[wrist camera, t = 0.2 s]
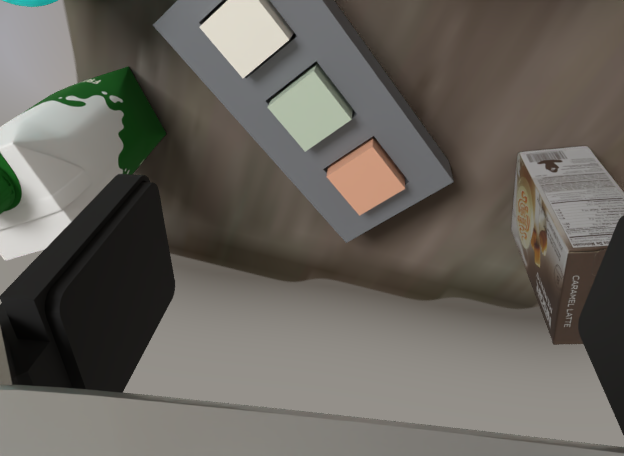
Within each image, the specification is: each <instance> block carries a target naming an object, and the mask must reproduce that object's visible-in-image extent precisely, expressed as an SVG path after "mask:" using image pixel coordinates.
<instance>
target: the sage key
mask: <svg viewBox="0 0 624 456" xmlns="http://www.w3.org/2000/svg"><path fill="white" fill-rule="evenodd" d="M268 109H269V110H270V111H271V112H272V113H273V115H274V116H275V117H276V118H277V119H278V120H279V122H280V123H281V124H282V125H283V126H284V128H285V129H286V130H287V131H288V132H289V133H290V135H291V136H292V137H293V138H294V139H295V140H296V142H297V143H298V144H299V145H300V146H301V148H302V149H303V150H304V151H305V152H306V151H307V150H308V149H310V148H311V147H313V146H314V145H316V144H317V143H319V142H320V141H321V140H323V139H324V138H326V137H327V136H329V135H330V134H331V133H333V132H334V131H336V130H337V129H339V128H340V127H342V126H343V125H344V124H346V123H347V122H349V121H350V120H352V113H353V108H352V107H351V106H350V104H349V103H348V102H347V100H346V99H345V98H344V96H343V95H342V94H341V93H340V91H339V90H338V89H337V87H336V86H335V85H334V83H333V82H332V81H331V80H330V78H329V77H328V76H327V74H326V73H325V72H324V70H323V69H322V68H321V67H320V65H319V64H318V63H317V61H316V62H315V63H314V64H312V65H311V66H310V67H309V68H307V69H306V70H305V71H304V72H302V73H301V74H300V75H298V76H297V77H296V78H295V79H293V80H292V81H291V82H290V83H288V84H287V85H286V86H284V87H283V88H282V89H281V90H279V91H278V92H277V93H276V94H274V95H273V97H272V99H271V101H270V103H269V105H268Z"/></svg>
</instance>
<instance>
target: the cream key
mask: <svg viewBox="0 0 624 456" xmlns="http://www.w3.org/2000/svg"><path fill="white" fill-rule="evenodd" d="M200 29H201V30H202V31H203V32H204V33H205V35H206V36H207V37H208V38H209V39H210V40H211V42H212V43H213V44H214V45H215V46H216V47H217V49H218V50H219V51H220V52H221V53H222V55H223V56H224V57H225V58H226V59H227V60H228V62H229V63H230V64H231V65H232V66H233V67H234V69H235V70H236V71H237V72H238V73H239V75H240V76H241V77H242V78H244V77H245V76H247V75H248V74H249V73H250V72H251V71H253V70H254V69H255V68H256V67H257V66H259V65H260V64H261V63H262V62H263V61H265V60H266V59H267V58H268V57H269V56H271V55H272V54H273V53H274V52H275V51H277V50H278V49H279V48H280V47H281V46H283V45H284V44H285V43H286V42H287V41H289V40H290V38H291V36H292V35H293V33H294V31H293V30H292V29H291V28H290V26H289V25H288V24H287V22H286V21H285V20H284V18H283V17H282V16H281V15H280V13H279V12H278V11H277V9H276V8H275V7H274V5H273V4H272V3H271V2H270V0H227V1H226V2H225V3H224V4H223V5H222V6H221V7H220V8H219V9H218V10H217V11H216V12H215V13H214V14H213V15H212V16H210V17H209V18H208V19H207V20H206V21H205V22H204V23H203V24H202V25H201V26H200Z"/></svg>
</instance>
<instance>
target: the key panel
mask: <svg viewBox="0 0 624 456" xmlns="http://www.w3.org/2000/svg"><path fill="white" fill-rule="evenodd" d="M226 1H227V0H177V1H176V2H175V3H174V4H173V5H172V6H171V7H170V8H169V9H168V10H167V11H166V12H165V13H164V14H163V15H162V16H161V17H160V18H159V19H158V20H157V21H156V22H155V23H154V24H153V26H154V27H155V28H156V29H157V31H158V32H159V33H160V34H161V35H162V36H163V37H164V38H165V40H166V41H167V42H168V43H169V44H170V45H171V46H172V47H173V49H174V50H175V51H176V52H177V53H178V54H179V55H180V56H181V58H182V59H183V60H184V61H185V62H186V63H187V64H188V65H189V67H190V68H191V69H192V70H193V71H194V72H195V73H196V74H197V76H198V77H199V78H200V79H201V80H202V81H203V82H204V83H205V85H206V86H207V87H208V88H209V89H210V90H211V91H212V92H213V94H214V95H215V96H216V97H217V98H218V99H219V100H220V101H221V103H222V104H223V105H224V106H225V107H226V108H227V109H228V110H229V112H230V113H231V114H232V115H233V116H234V117H235V118H236V119H237V121H238V122H239V123H240V124H241V125H242V126H243V127H244V128H245V130H246V131H247V132H248V133H249V134H250V135H251V136H252V137H253V139H254V140H255V141H256V142H257V143H258V144H259V145H260V146H261V148H262V149H263V150H264V151H265V152H266V153H267V154H268V155H269V157H270V158H271V159H272V160H273V161H274V162H275V163H276V164H277V166H278V167H279V168H280V169H281V170H282V171H283V172H284V173H285V175H286V176H287V177H288V178H289V179H290V180H291V181H292V182H293V183H294V185H295V186H296V187H297V188H298V189H299V190H300V191H301V192H302V194H303V195H304V196H305V197H306V198H307V199H308V200H309V201H310V203H311V204H312V205H313V206H314V207H315V208H316V209H317V210H318V212H319V213H320V214H321V215H322V216H323V217H324V218H325V219H326V221H327V222H328V223H329V224H330V225H331V226H332V227H333V228H334V230H335V231H336V232H337V233H338V234H339V235H340V236H341V237H342V239H343V240H344V241H345V242H346V243H347V242H349V241H350V240H352V239H354V238H356V237H357V236H359V235H361V234H363V233H364V232H366V231H368V230H370V229H371V228H373V227H375V226H377V225H378V224H380V223H382V222H384V221H386V220H387V219H389V218H391V217H393V216H394V215H396V214H398V213H400V212H401V211H403V210H405V209H407V208H408V207H410V206H412V205H414V204H415V203H417V202H419V201H421V200H423V199H424V198H426V197H428V196H430V195H431V194H433V193H435V192H437V191H438V190H440V189H442V188H444V187H445V186H447V185H449V184H451V183H452V182H454V181H453V177H452V172H451V168H450V164H449V161H448V159H447V158H446V157H445V155H444V154H443V152H442V151H441V150H440V148H439V147H438V145H437V144H436V143H435V141H434V140H433V138H432V137H431V136H430V134H429V133H428V131H427V130H426V129H425V127H424V126H423V124H422V123H421V122H420V120H419V119H418V117H417V116H416V115H415V113H414V112H413V110H412V109H411V108H410V106H409V105H408V103H407V102H406V101H405V99H404V98H403V96H402V95H401V94H400V92H399V91H398V89H397V88H396V87H395V85H394V84H393V82H392V81H391V80H390V78H389V77H388V75H387V74H386V73H385V71H384V70H383V68H382V67H381V65H380V64H379V63H378V61H377V60H376V58H375V57H374V56H373V54H372V53H371V51H370V50H369V49H368V47H367V46H366V44H365V43H364V42H363V40H362V39H361V37H360V36H359V35H358V33H357V32H356V30H355V29H354V28H353V26H352V25H351V23H350V22H349V21H348V19H347V18H346V16H345V15H344V14H343V12H342V11H341V9H340V8H339V7H338V5H337V4H336V2H335V1H334V0H270V2H271V3H272V4H273V5H274V7H275V8H276V9H277V11H278V12H279V13H280V15H281V16H282V17H283V18H284V20H285V21H286V22H287V24H288V25H289V26H290V28H291V29H292V30H293V31H294V33H293V35H292V36H291V38H290V40H289V41H287V42H286V43H285V44H284V45H283V46H281V47H280V48H279V49H278V50H277V51H275V52H274V53H273V54H272V55H271V56H269V57H268V58H267V59H266V60H265V61H263V62H262V63H261V64H260V65H259V66H257V67H256V68H255V69H254V70H253V71H251V72H250V73H249V74H248V75H247V76H245V77H244V78H242V77H241V76H240V75H239V73H238V72H237V71H236V70H235V69H234V67H233V66H232V65H231V64H230V63H229V62H228V60H227V59H226V58H225V57H224V56H223V55H222V53H221V52H220V51H219V50H218V49H217V47H216V46H215V45H214V44H213V43H212V42H211V40H210V39H209V38H208V37H207V36H206V35H205V33H204V32H203V31H202V30H201V29H200V26H201V25H202V24H203V23H204V22H205V21H206V20H207V19H208V18H209V17H210V16H212V15H213V14H214V13H215V12H216V11H217V10H218V9H219V8H220V7H221V6H222V5H223V4H224V3H225V2H226ZM316 61H317V63H318V64H319V65H320V67H321V68H322V69H323V70H324V72H325V73H326V74H327V76H328V77H329V78H330V80H331V81H332V82H333V83H334V85H335V86H336V87H337V89H338V90H339V91H340V93H341V94H342V95H343V96H344V98H345V99H346V100H347V102H348V103H349V104H350V106H351V107H352V108H353V113H352V120H350V121H349V122H347V123H346V124H344V125H343V126H342V127H340V128H339V129H337V130H336V131H334V132H333V133H331V134H330V135H329V136H327V137H326V138H324V139H323V140H321V141H320V142H319V143H317V144H316V145H314V146H313V147H311V148H310V149H308V150H307V151H306V152H305V151H304V150H303V149H302V148H301V146H300V145H299V144H298V143H297V142H296V140H295V139H294V138H293V137H292V136H291V135H290V133H289V132H288V131H287V130H286V129H285V128H284V126H283V125H282V124H281V123H280V122H279V120H278V119H277V118H276V117H275V116H274V115H273V113H272V112H271V111H270V110H269V109H268V105H269V103H270V101H271V99H272V97H273V95H274V94H276V93H277V92H278V91H279V90H281V89H282V88H283V87H284V86H286V85H287V84H288V83H290V82H291V81H292V80H293V79H295V78H296V77H297V76H298V75H300V74H301V73H302V72H304V71H305V70H306V69H307V68H309V67H310V66H311V65H312V64H314V63H315V62H316ZM373 136H374V137H375V138H376V139H377V141H378V142H379V143H380V145H381V146H382V147H383V148H384V150H385V151H386V152H387V154H388V155H389V156H390V158H391V159H392V160H393V161H394V163H395V164H396V165H397V167H398V168H399V169H400V171H401V172H402V173H403V174H404V176H405V189H404V190H402V191H401V192H399V193H397V194H395V195H394V196H392V197H390V198H389V199H387V200H385V201H384V202H382V203H380V204H378V205H377V206H375V207H373V208H372V209H370V210H368V211H367V212H365V213H363V214H361V215H360V216H359V215H358V213H357V212H356V211H355V210H354V209H353V208H352V206H351V205H350V204H349V203H348V202H347V200H346V199H345V198H344V197H343V196H342V195H341V193H340V192H339V191H338V190H337V189H336V188H335V186H334V185H333V184H332V183H331V182H330V180H329V179H328V178H327V177H326V176H327V171H328V166H329V165H330V164H332V163H333V162H335V161H336V160H338V159H339V158H341V157H342V156H344V155H345V154H347V153H348V152H350V151H351V150H353V149H354V148H356V147H357V146H359V145H361V144H362V143H364V142H365V141H367V140H368V139H370V138H371V137H373Z"/></svg>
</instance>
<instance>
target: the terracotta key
mask: <svg viewBox="0 0 624 456" xmlns="http://www.w3.org/2000/svg"><path fill="white" fill-rule="evenodd" d="M326 177H327V178H328V179H329V180H330V182H331V183H332V184H333V185H334V186H335V188H336V189H337V190H338V191H339V192H340V193H341V195H342V196H343V197H344V198H345V199H346V200H347V202H348V203H349V204H350V205H351V206H352V208H353V209H354V210H355V211H356V212H357V213H358V215H359V216H360V215H361V214H363V213H365V212H367V211H368V210H370V209H372V208H373V207H375V206H377V205H378V204H380V203H382V202H384V201H385V200H387V199H389V198H390V197H392V196H394V195H395V194H397V193H399V192H401V191H402V190H404V189H405V176H404V174H403V173H402V172H401V171H400V169H399V168H398V167H397V165H396V164H395V163H394V161H393V160H392V159H391V158H390V156H389V155H388V154H387V152H386V151H385V150H384V148H383V147H382V146H381V145H380V143H379V142H378V141H377V139H376V138H375V137H374V136H373V137H371V138H370V139H368V140H367V141H365V142H364V143H362V144H361V145H359V146H357V147H356V148H354V149H353V150H351V151H350V152H348V153H347V154H345V155H344V156H342V157H341V158H339V159H338V160H336V161H335V162H333V163H332V164H330V165H329V166H328V171H327V176H326Z"/></svg>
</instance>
